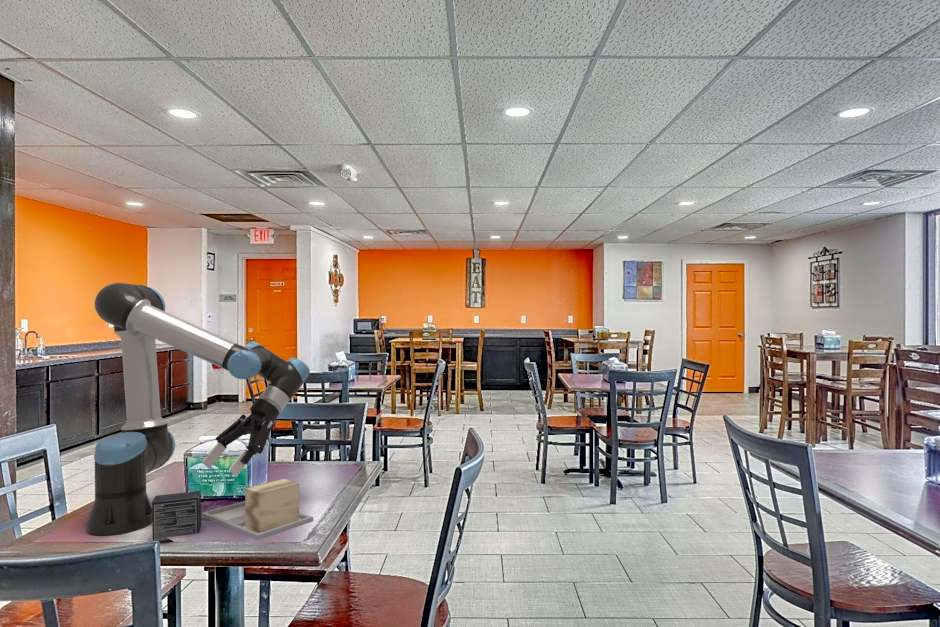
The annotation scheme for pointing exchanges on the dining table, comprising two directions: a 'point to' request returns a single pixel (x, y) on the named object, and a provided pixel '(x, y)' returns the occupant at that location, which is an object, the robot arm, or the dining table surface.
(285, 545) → the dining table surface
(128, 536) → the dining table surface
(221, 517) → the tray
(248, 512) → the block
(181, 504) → the small box
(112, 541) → the dining table surface
